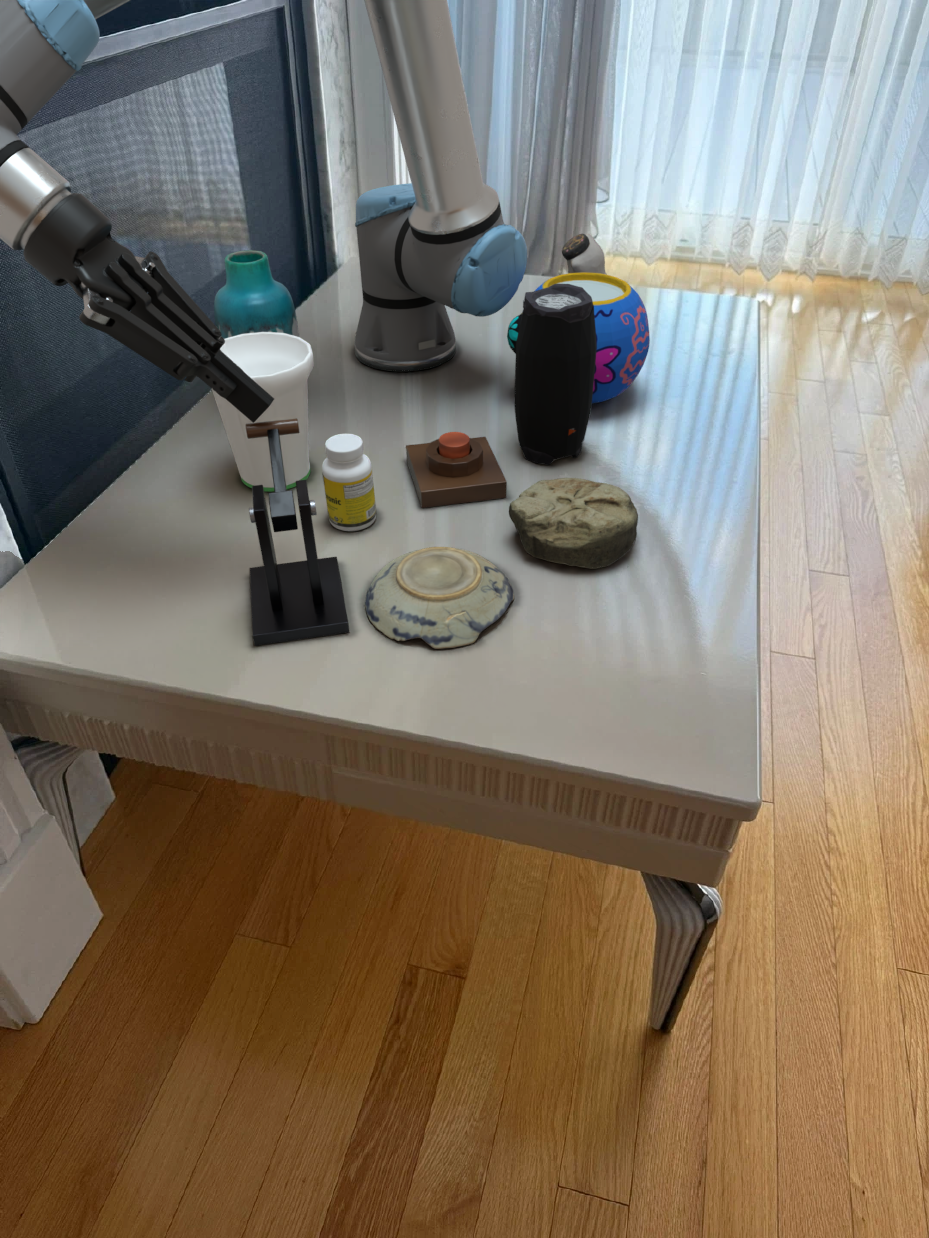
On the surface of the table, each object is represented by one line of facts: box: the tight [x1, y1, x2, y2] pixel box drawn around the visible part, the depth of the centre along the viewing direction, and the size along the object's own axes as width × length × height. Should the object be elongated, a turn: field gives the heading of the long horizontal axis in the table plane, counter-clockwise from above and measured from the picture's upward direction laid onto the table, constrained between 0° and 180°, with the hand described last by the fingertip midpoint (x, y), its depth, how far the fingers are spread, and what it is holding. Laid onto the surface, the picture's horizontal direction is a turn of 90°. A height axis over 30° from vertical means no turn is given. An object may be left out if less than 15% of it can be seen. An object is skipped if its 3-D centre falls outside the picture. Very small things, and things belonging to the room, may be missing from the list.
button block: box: [405, 436, 507, 509], centre depth 107 cm, size 11×10×4 cm
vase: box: [213, 249, 300, 339], centre depth 119 cm, size 11×11×19 cm
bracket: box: [248, 480, 350, 647], centre depth 86 cm, size 11×9×13 cm
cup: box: [211, 332, 315, 493], centre depth 104 cm, size 12×12×15 cm
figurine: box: [561, 233, 608, 275], centre depth 135 cm, size 9×10×15 cm
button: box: [438, 431, 471, 459], centre depth 105 cm, size 4×4×2 cm
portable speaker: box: [513, 284, 597, 466], centre depth 107 cm, size 9×9×20 cm
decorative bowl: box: [364, 546, 515, 650], centre depth 89 cm, size 15×4×15 cm
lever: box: [246, 418, 300, 533], centre depth 85 cm, size 12×5×2 cm, turn 12°
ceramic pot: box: [506, 272, 651, 405], centre depth 120 cm, size 18×18×15 cm
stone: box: [508, 477, 639, 570], centre depth 97 cm, size 13×13×5 cm
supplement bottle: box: [321, 433, 377, 532], centre depth 98 cm, size 5×5×10 cm
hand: (263, 410), depth 86 cm, fingers closed
